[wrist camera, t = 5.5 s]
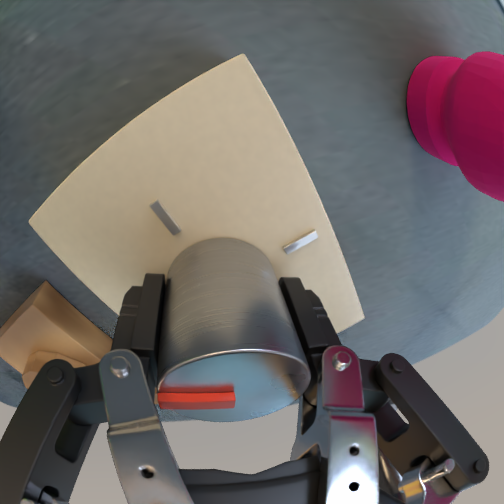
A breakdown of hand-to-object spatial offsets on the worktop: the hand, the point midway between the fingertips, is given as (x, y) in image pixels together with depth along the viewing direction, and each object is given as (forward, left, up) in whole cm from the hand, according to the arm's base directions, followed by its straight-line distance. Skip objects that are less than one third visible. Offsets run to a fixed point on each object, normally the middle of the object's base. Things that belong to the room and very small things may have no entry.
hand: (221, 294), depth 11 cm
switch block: (-2, +15, -4) cm, 15 cm away
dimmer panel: (0, 0, -4) cm, 4 cm away
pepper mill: (+1, -15, -4) cm, 16 cm away
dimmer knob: (0, 0, 0) cm, 0 cm away
